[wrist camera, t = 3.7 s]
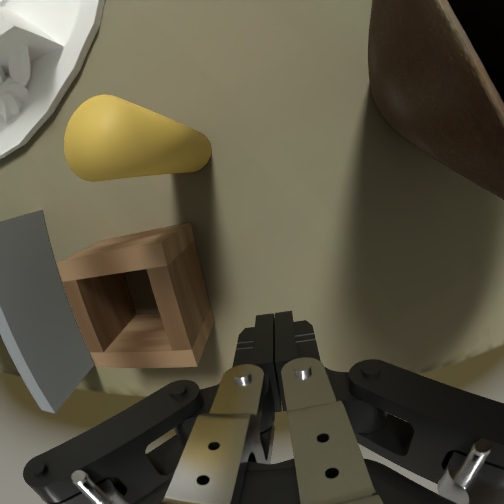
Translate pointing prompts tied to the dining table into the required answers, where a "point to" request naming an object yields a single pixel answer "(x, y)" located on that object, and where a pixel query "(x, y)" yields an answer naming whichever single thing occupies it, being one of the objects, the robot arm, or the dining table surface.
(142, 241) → the brown wooden open box
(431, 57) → the plant pot
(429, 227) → the dining table surface
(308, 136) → the dining table surface
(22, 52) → the dish
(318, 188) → the dining table surface
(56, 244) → the dining table surface
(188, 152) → the dowel
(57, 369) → the wall
